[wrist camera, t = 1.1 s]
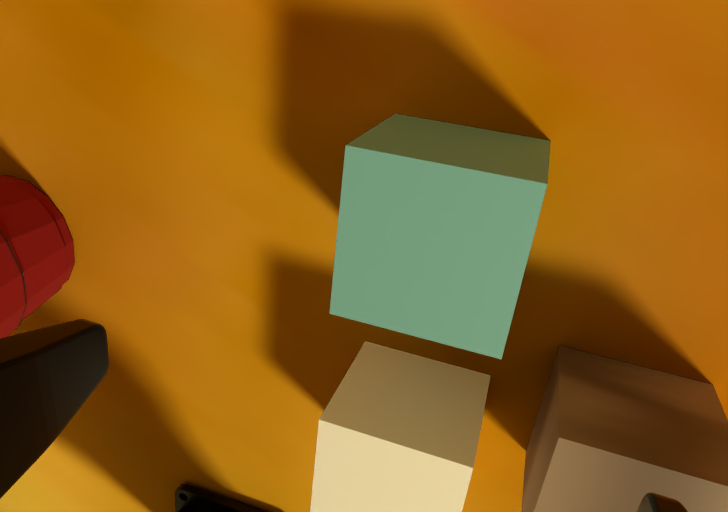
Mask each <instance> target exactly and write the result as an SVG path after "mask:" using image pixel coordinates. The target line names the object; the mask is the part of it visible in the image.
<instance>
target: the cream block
mask: <svg viewBox="0 0 728 512" xmlns="http://www.w3.org/2000/svg"><path fill="white" fill-rule="evenodd" d="M490 377H491V375H487V374H484V373H480V372H477V371H473V370H469V369H466V368H462V367H458V366H455V365H451V364H447V363H444V362H440V361H436V360H433V359H429V358H425V357H422V356H418V355H415V354H411V353H407V352H404V351H400V350H396V349H393V348H389V347H385V346H382V345H378V344H374V343H371V342H367V341H365V342H364V344H363V346H362V347H361V349H360V351H359V352H358V354H357V356H356V358H355V359H354V361H353V363H352V364H351V366H350V368H349V369H348V371H347V373H346V375H345V376H344V378H343V380H342V381H341V383H340V385H339V386H338V388H337V390H336V392H335V393H334V395H333V397H332V398H331V400H330V402H329V403H328V405H327V407H326V409H325V410H324V412H323V414H322V415H321V417H320V419H319V425H318V436H317V446H316V456H315V467H314V477H313V488H312V498H311V509H310V512H462V509H463V505H464V501H465V498H466V494H467V490H468V486H469V482H470V478H471V474H472V471H473V466H474V461H475V456H476V451H477V445H478V440H479V435H480V430H481V424H482V419H483V414H484V409H485V403H486V398H487V393H488V388H489V382H490Z"/></svg>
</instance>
